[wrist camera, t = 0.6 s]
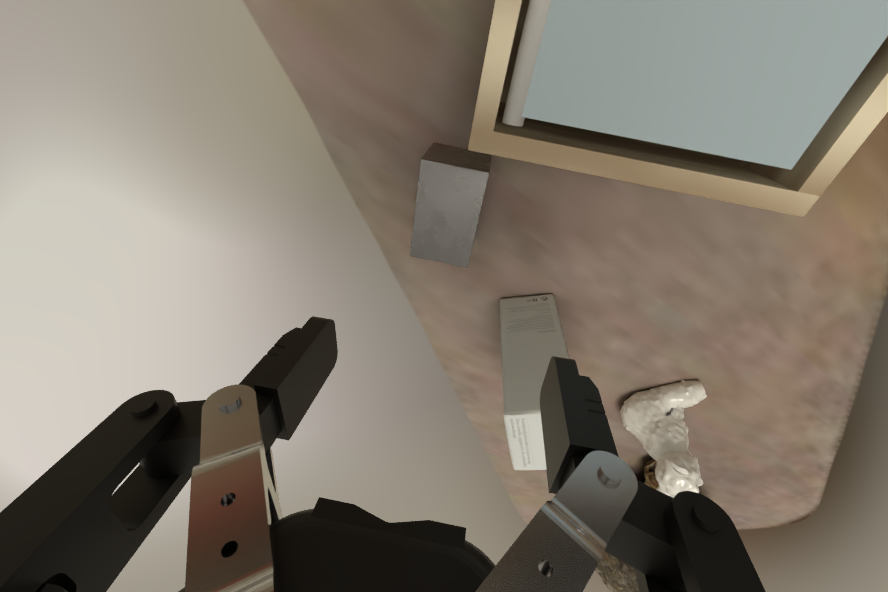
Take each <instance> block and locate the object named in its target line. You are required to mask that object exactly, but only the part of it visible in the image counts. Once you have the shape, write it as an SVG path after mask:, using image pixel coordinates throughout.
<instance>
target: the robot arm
mask: <svg viewBox="0 0 888 592" xmlns="http://www.w3.org/2000/svg"><path fill="white" fill-rule="evenodd" d="M337 352H338V351H337V341H336V331H335V323H334V321H333V320H331V319H325V318H319V317H311V318H310V319H309V320H308V321H307V322H306V324H305V325H304V326H303V327H302V328H295V329H293V330H291V331H289V332H288V333H286V334H284V335H283V336H282V337H281V338H280V339H279V340H278V341H277V343H276V344H275V345H274V347H272V348H271V349H270V350H269V351H268V353H267V355H265V356H264V357H263V358H262V359H261V360H260V362H259V363H258V364H257V365H256V366H255V367H254V368H253V369H252V370H251V371H250V373H249V374H248V375H247V376H246V377H245V378H244V379H243V380H242V382H241V383H240V384H239V385H231V386H227V387H224V388H222V389H220V390H218V391H216V392H215V393H213V394H212V395H211V396H210V397H208V398H207V400H202V401H189V402H179V403H178V402H176V400H175V398H174V396H173V394H172V393H170V392H168V391H164V390H153V391H148V392H144V393H141V394H139V395H137V396H134V397H132V398H131V399H129V400H127V401H126V402H124V403H123V404H122V405H121V406H119V407H118V408H117V409H116V410H115V411H114V412H113V413H112V414H111V415H109V416H108V417H107V418H106V419H105V420H104V421H103V422H102V423H100V424H99V425H98V426H97V427H96V428H95V429H94V430H93V431H91V432H90V433H89V434H88V435H87V436H86V437H85V438H84V439H82V440H81V441H80V442H79V443H78V444H77V445H76V446H75V447H74V448H72V449H71V450H70V451H69V452H68V453H67V454H66V455H65V456H63V457H62V458H61V459H60V460H59V461H58V462H57V463H56V464H55V465H53V466H52V467H51V468H50V469H49V470H48V471H47V472H45V474H43V475H42V476H41V477H40V478H39V479H38V480H36V481H35V482H34V483H33V484H32V485H31V486H30V487H29V488H28V489H27V490H25V491H24V492H23V493H22V494H21V495H20V496H19V497H17V498H16V499H15V500H14V501H13V502H12V503H11V504H10V505H9V506H7V507H6V508H5V509H4V510H3V511H2V512H1V513H0V592H106V591H107V590H108V588H109V587H110V586H111V584H112V583H113V582H114V580H115V579H116V578H117V576H118V575H119V573H120V572H121V571H122V569H123V568H124V567H125V565H126V564H127V563H128V561H129V560H130V558H131V557H132V556H133V555H134V553H135V552H136V551H137V549H138V548H139V546H140V545H141V544H142V542H143V541H144V540H145V538H146V537H147V535H148V534H149V533H150V532H151V530H152V529H153V528H154V526H155V524H156V523H157V522H158V521H159V519H160V518H161V517H162V515H163V514H164V513H165V511H166V510H167V509H168V507H169V506H170V504H171V503H172V502H173V500H174V499H175V497H176V496H177V495H178V494H179V492H180V491H181V489H182V488H183V487H184V485H185V484H186V483H187V482H188V480H189V479H190V477H191V493H190V510H189V528H188V546H187V563H186V582H185V587H184V588H183V589H182V590H180V591H179V592H583V590H584V588H585V587H586V585H587V583H588V581H589V579H590V578H591V576H592V574H593V572H594V571H595V569H596V567H597V565H598V563H599V562H600V560H601V558H602V556H603V554H604V552H607V553H608V554H610V555H612V556H614V557H616V558H617V559H619V560H621V561H623V562H625V563H626V564H628V565H630V566H632V567H633V568H635V573H636V578H637V582H638V587H639V592H765V590H764V588H763V585H762V583H761V581H760V579H759V577H758V575H757V572H756V570H755V568H754V566H753V564H752V562H751V560H750V557H749V555H748V553H747V551H746V549H745V547H744V544H743V542H742V540H741V538H740V536H739V534H738V532H737V529H736V527H735V525H734V523H733V522H732V520H731V519H730V517H729V516H728V515H727V514H726V512H725V511H724V510H723V509H722V508H721V507H720V506H718V505H717V504H716V503H715V502H713V501H712V500H710V499H709V498H707V497H705V496H704V495H701V494H699V493H696V492H692V491H682V492H679V493H677V494H676V495H675V497H674V498H673V497H671V496H668V495H666V494H664V493H662V492H660V491H658V490H656V489H654V488H652V487H649V486H647V485H646V484H644V483H642V482H641V481H639V480H638V479H637V478H636V476H635V474H634V472H633V471H632V469H631V468H630V467H629V465H628V464H627V463H626V462H624V461H623V460H622V459H621V458H619V456H618V453H617V450H616V447H615V443H614V440H613V437H612V433H611V430H610V427H609V424H608V420H607V417H606V415H605V410H604V407H603V404H602V400H601V397H600V394H599V390H598V388H597V387H596V386H595V385H594V383H593V382H592V381H591V379H590V378H589V377H586V376H580V375H579V373H578V369H577V365H576V362H575V360H573V359H567V358H561V357H555V356H552V357H551V359H550V362H549V365H548V368H547V372H546V375H545V378H544V381H543V384H542V387H541V392H540V411H541V421H542V430H543V440H544V449H545V459H546V468H547V478H548V488H549V493H554V494H556V495H555V497H554V498H553V499H552V500H551V501H547V502H546V503H545V504H544V505H543V506H542V508H541V509H540V510H539V511H538V513H537V514H536V515H535V516H534V518H533V519H532V520H531V521H530V523H529V524H528V525H527V527H526V528H525V529H524V530H523V532H522V533H521V534H520V535H519V537H518V538H517V539H516V541H515V542H514V543H513V544H512V546H511V547H510V548H509V550H508V551H507V552H506V553H505V555H504V556H503V557H502V559H501V560H500V561H499V562H498V563H497V565H496V566H495V565H494V563H493V562H492V561H491V560H490V559H489V558H488V557H487V556H486V555H485V554H484V553H483V552H482V551H481V550H480V549H478V548H477V547H476V546H474V545H473V544H471V543H469V542H467V541H466V540H465V533H466V528H464V527H459V526H454V525H449V524H445V523H440V522H435V521H430V520H425V521H412V522H398V523H388V522H385V521H383V520H381V519H380V518H378V517H376V516H374V515H372V514H371V513H368V512H367V511H365V510H363V509H361V508H360V507H358V506H356V505H354V504H349V503H344V502H340V501H335V500H330V499H325V498H319V499H318V501H317V503H316V506H315V508H314V509H309V510H304V511H300V512H297V513H294V514H291V515H289V516H286V517H284V518H283V517H282V513H281V508H280V503H279V498H278V491H277V484H276V477H275V470H274V463H273V456H272V450H271V446H272V444H273V443H274V441H275V439H276V438H280V439H285V440H289V439H290V438H291V436H292V435H293V433H294V431H295V430H296V428H297V426H298V425H299V423H300V421H301V420H302V418H303V417H304V415H305V413H306V412H307V410H308V409H309V407H310V405H311V403H312V402H313V400H314V399H315V397H316V396H317V394H318V392H319V391H320V389H321V387H322V386H323V384H324V382H325V381H326V379H327V377H328V376H329V374H330V373H331V371H332V369H333V368H334V366H335V363H336V360H337ZM138 463H140V465H139V466H138V467H137V468H136V469H135V471H134V472H133V473H132V474H131V475H130V476H129V477H128V478H127V479H126V480H125V482H124V483H123V484H122V485H121V486H120V487H119V488H118V489H117V491H116V492H115V493H114V494H113V495H112V493H113V492H114V490H115V489H116V488H117V486H118V485H119V484H120V483H121V482H122V481H123V479H124V478H125V477H126V476H127V475H128V474H129V473H130V472H131V471H132V470H133V468H134V467H135V466H136V465H137V464H138Z"/></svg>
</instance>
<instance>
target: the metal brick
mask: <svg viewBox="0 0 888 592" xmlns="http://www.w3.org/2000/svg"><path fill="white" fill-rule="evenodd" d="M490 161H491V155H490V154H485V153H480V152H475V151H470V150H468V149H463V148H458V147H453V146H448V145H443V144H438V143H433V145H432V146H431V147H430V148H429V150H428V151H427V152H426V153H425V155H424V156H423V157H422V158H421V162H420V171H419V180H418V189H417V198H416V206H415V215H414V224H413V233H412V242H411V250H410V256H413V257H418V258H423V259H427V260H432V261H437V262H442V263H447V264H452V265H456V266H461V267H466V268H468V263H469V259H470V254H471V250H472V246H473V241H474V237H475V233H476V228H477V224H478V219H479V215H480V211H481V206H482V202H483V197H484V193H485V189H486V184H487V180H488V175H489V169H490Z"/></svg>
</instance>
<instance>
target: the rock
mask: <svg viewBox="0 0 888 592" xmlns="http://www.w3.org/2000/svg"><path fill="white" fill-rule="evenodd" d="M656 465H657V461H656V460H654V459H652V460H650V461H647V465H646V466H645V467H644V476H645V479H646V480H645V482H644V484H646V485H647V486H649V487H652V488H654V489H657V488H658V487H659V483H658V481H657V480H656V476H655V468H656ZM595 571H596V572H597V573H598V574H599V575H600V576H601V578H602V580H603V582H604V584H605V585H606V586H607V588H608V589H609V590H610V591H612V592H639V587H638V582H637V578H636V573H635V568H633V567H632V566H630V565H628V564H626V563H625V562H623V561H621V560H619V559H617V558H616V557H614V556H612V555H610V554H608V553H607V552H604V554H603V556H602V558H601V560H600V562H599V563H598V565H597V567H596V569H595Z"/></svg>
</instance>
